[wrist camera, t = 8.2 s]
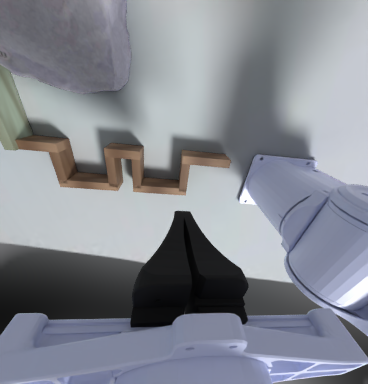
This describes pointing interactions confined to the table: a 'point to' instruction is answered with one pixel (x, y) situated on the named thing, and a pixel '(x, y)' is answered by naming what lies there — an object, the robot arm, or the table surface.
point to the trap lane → (64, 160)
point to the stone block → (67, 43)
